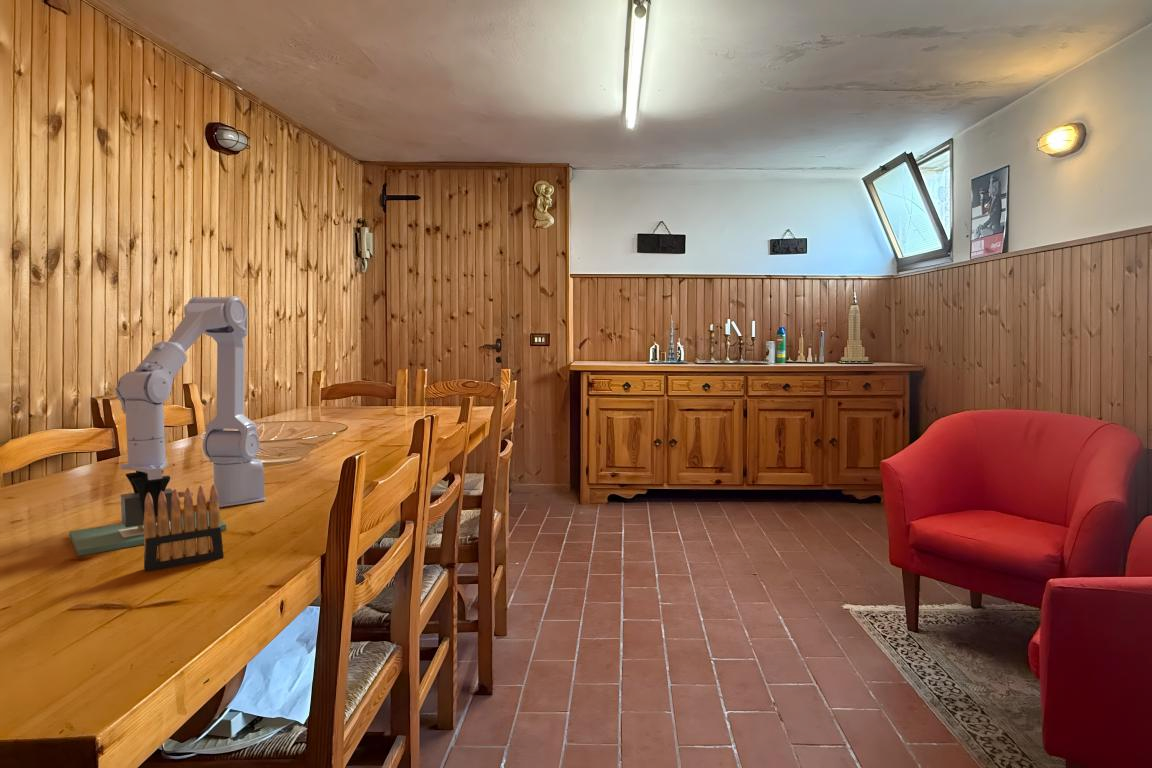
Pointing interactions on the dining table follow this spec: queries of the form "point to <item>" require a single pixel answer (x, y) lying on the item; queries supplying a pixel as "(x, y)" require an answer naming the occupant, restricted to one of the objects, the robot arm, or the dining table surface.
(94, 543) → the board
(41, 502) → the dining table surface
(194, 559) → the ammunition clip
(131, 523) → the block
